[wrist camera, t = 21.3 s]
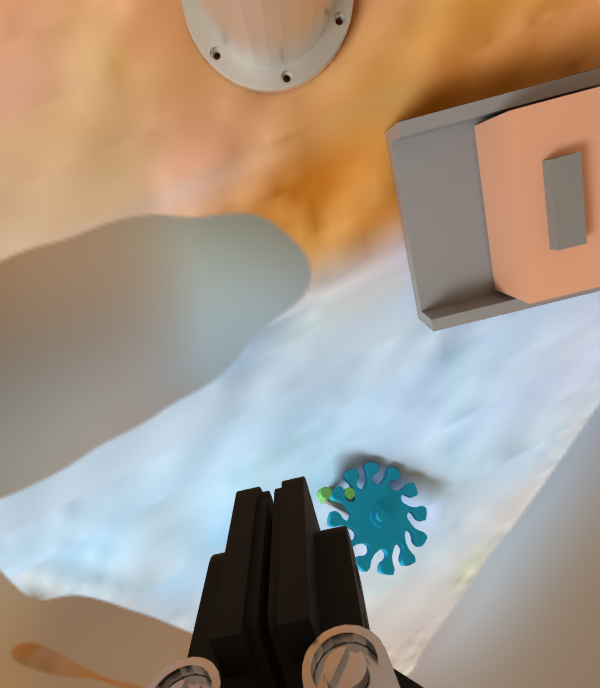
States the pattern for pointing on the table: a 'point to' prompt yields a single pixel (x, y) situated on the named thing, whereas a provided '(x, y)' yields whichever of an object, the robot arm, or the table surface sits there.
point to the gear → (376, 516)
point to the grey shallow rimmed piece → (457, 205)
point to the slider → (543, 196)
